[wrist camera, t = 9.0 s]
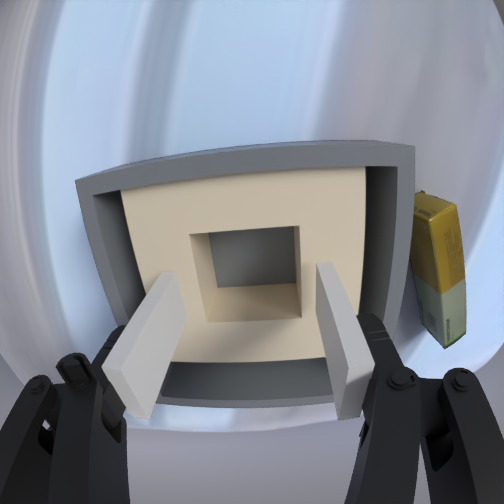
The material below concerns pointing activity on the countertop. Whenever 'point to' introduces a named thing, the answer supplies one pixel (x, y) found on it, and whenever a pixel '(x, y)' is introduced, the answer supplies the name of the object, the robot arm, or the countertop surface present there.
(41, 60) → the countertop surface
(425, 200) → the medication box
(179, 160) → the box
